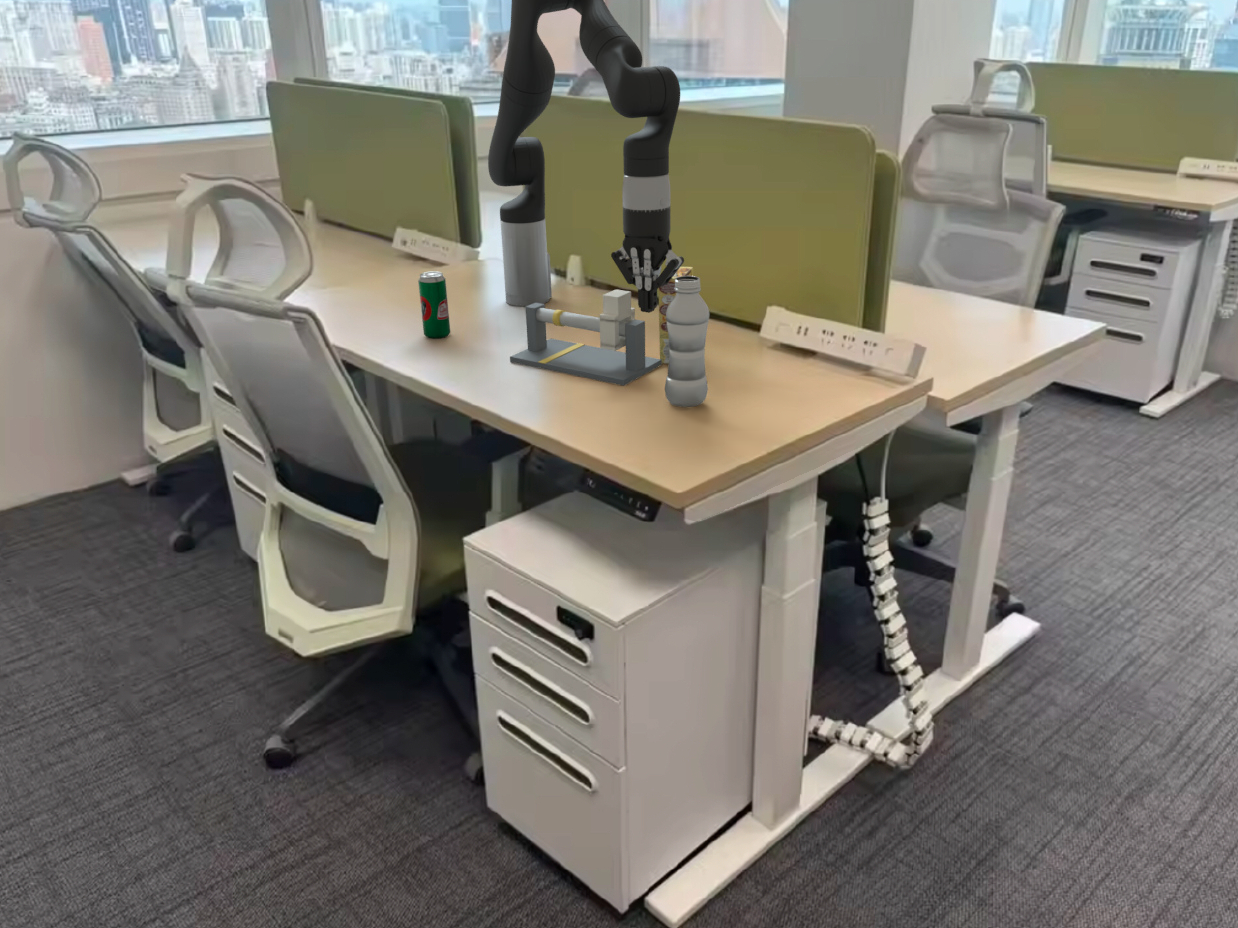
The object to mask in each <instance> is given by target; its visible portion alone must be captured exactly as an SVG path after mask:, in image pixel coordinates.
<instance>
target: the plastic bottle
mask: <svg viewBox="0 0 1238 928" xmlns="http://www.w3.org/2000/svg"><path fill="white" fill-rule="evenodd" d="M701 288H702V287H701V278H700V277H699V276H695V275H693V276H680V277H677V278H675V287H674V291H675V292H677V293H676V296H675V297H674V298H673V300H672V301H671V303H670V304H669V306H668V308H667V311H666V320H667V328H668V336H669V347H670V349H669V364H667V365H668V367H667V375H666V377H665V378H666V379H665V385H664V394H665V398H666V400H667V401H668V403H669V404H671V405H672V406H674V407H678V408H679V407H680V408H691V407H697V406H700V405H702V404H703V403H704V402H705V400H706V399H707V395H708V391H709V387H708V380H707V379H708V378H707V375H706V362H705V360H706V359H705V350H706V348H705V347H706V342H707V341H706V339H707V332H708V326H709V322H710V321H709V320H710V311H709V307H708V305H707V303H706V301H705V300H704V298H702V296H701V295H700V292H701V291H702V290H701Z"/></svg>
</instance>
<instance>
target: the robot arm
mask: <svg viewBox="0 0 1238 928" xmlns="http://www.w3.org/2000/svg"><path fill="white" fill-rule="evenodd" d="M510 6H511V7H510V8H511V9H510V10H511V11H510V28H509V34H508V43H507V50H506V56H505V61H504V66H503V67H504V68H503V73H502V79H501V88H500V97H499V98H500V99H499V105H498V111H497V116H496V117H497V118H496V122H495V126H494V129H493V133H492V137H491V141H490V144H489V150H488V158H487V166H488V173H489V177H490V179H491V181H492V183H494V184H495V185H497V186H499V187H518V186H520V187H521V186H524V189H523V190H522V192H521V193H520V194H518V196H516V197H514V198H513V199H511V200H508V201H507V202H504V203H503V204H502V205H501V206H500V207H499V219H500V220H499V221H500V231H501V232H500V235H501V247H502V248H501V249H502V250H501V251H502V261H503V262H502V263H503V276H504V292H505V302H506V303H507V304H509V305H512V306H516V307H517V306H518V307H526V306H528V305H531V304H533V303H541V304H546V303H548V302H549V301H550V298H552V297H553V296H552V277H551V276H552V275H551V256H550V255H551V254H550V253H549V252H548V247H547V246H548V245H547V230H546V189H545V188H546V186H545V183H546V182H545V181H546V177H545V176H546V173H545V172H546V161H545V151H544V147H543V143H542V142H541V141H540V139H539V138H538V137H535V136H523V137H522V136H521V135H522V133H524V131H525V130H526V129H528V127H530V125H532V124H533V123H534V122H535V121H536V119H538V118H539V117H540V116H541V115H542V113H543V112H544V111H545V110H546V108H547V107H548V105H549V103H550V101H551V97H552V93H553V88H554V83H555V77H556V66H555V63H554V60H553V58H552V55H551V54H550V52H549V50H548V48H547V47H546V45H545V44H544V42H543V40H542V39H541V36H540V35H539V33H538V26H539V25H538V24H539V20H540V18H541V16H542V15H543V14H548V13H554V12H561V11H566V10H568V9H573V10H575V11H576V12H577V13H579V14H580V16H581V17H580V18H581V19H580V22H579V23H580V25H579V38H578V39H579V42H580V48H581V49H582V52H583V54H584V56H585V57H586V59H587V60H588V62H589V63H590V64H591V65H592V66H593V67H594V69H595V71H597V73H598V74H599V75H600V76H601V78H602V81H603V83H604V86H605V89H606V92H607V95H608V97H609V101H610V104H611V106H612V108H613V109H614V110H615V112H617V113H618V114H619V115H620V116H622V117H624V118H628V119H638V118H646V120H645V123H644V126H643V128H642V129H641V130H640V131H637V132H635V133H633V134H630V135H628V136H627V137H626V138H625V139H624V141H623V146H622V147H623V148H622V149H623V150H622V153H623V158H622V159H623V182H622V189H621V190H622V197H621V198H622V231H623V234H624V238H623V240H622V246H621V247H620V248H618V249H617V250H614V251H612V252H611V254H610V256H611V259H612V260H613V262H614V263H615V266H617V269H618V270H619V272H620V273H621V275H622V277H623V278H624V279H625V281H626V283H627V284H628V285H633V286H635V287H636V289H637V305H638V308H639V309H640V312H642V313H648V314H649V313H652V312H654V311H655V309H656V308H658V307H657V306H658V290H659V288H660V287H662V286H664V285H667V284H668V283H669V281H670V280H671V279H672V277H673V276H674V275H675V273H676V272H677V271H678V269H679V268H680V267H682V266H683V264H684V263H685V259H684V257H683V256H681V255H680V256H679V255H677V254H676V253H674V251H673V245H672V243H671V240H670V234H671V183H670V171H669V170H670V168H669V167H670V163H669V161H670V152H669V151H670V149H669V148H670V143H671V139H672V136H673V133H674V132H673V130H674V128H675V124H676V123H675V122H676V120H677V116H678V115H677V114H678V110H679V107H680V103H681V102H680V101H681V86H680V83H679V82H680V81H679V79H678V76H677V75H676V73H675V71H673V70H672V69H671V68H670V67H668V66H664V65H663V66H662V65H661V66H660V65H658V66H645V67H644V66H643V67H642V65H643V55H642V52H641V50H640V48H639V46H638V45H637V44H636V42H635V41H633V39H632V38H631V36H629V34H628V33H627V32H626V31H625V29H624V28H623V27H622V26H621V25H620V24H619V22H618V21H617V20H616V19H615V17H614V16H613V14H612V13H611V11H610V10H609V8H608V6H607V4H606V3H605V1H604V0H511V5H510ZM520 136H521V137H520ZM663 264H664V265H665V268H664V269H663V270H662V265H663Z"/></svg>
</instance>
